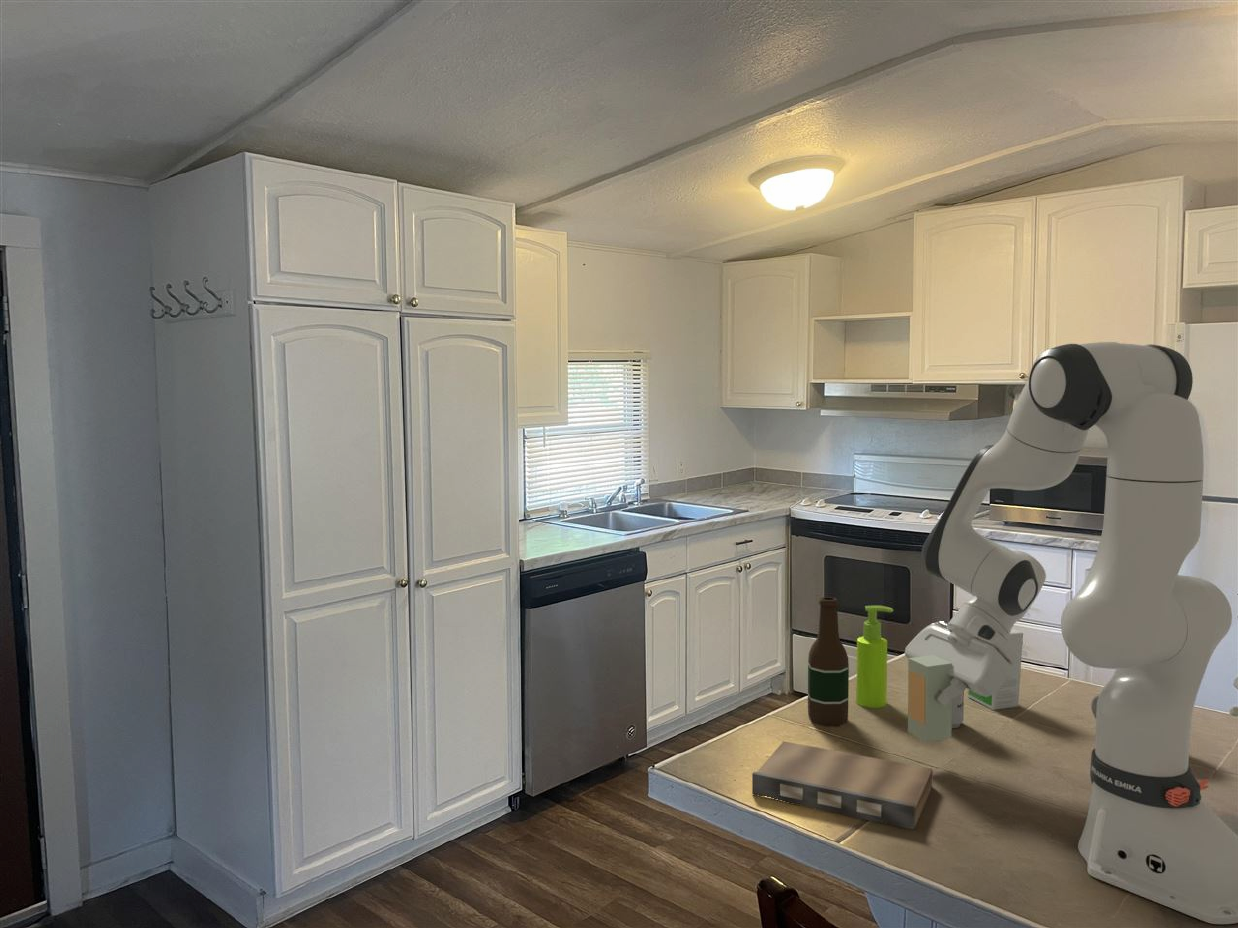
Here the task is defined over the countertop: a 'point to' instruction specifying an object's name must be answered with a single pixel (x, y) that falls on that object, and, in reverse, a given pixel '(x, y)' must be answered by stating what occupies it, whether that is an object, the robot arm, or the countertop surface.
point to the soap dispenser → (872, 662)
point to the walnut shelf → (845, 784)
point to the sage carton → (928, 698)
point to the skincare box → (1010, 688)
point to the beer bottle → (828, 670)
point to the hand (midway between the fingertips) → (926, 696)
